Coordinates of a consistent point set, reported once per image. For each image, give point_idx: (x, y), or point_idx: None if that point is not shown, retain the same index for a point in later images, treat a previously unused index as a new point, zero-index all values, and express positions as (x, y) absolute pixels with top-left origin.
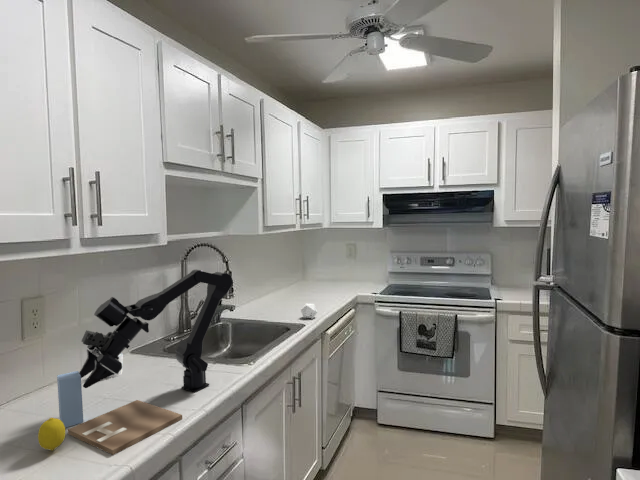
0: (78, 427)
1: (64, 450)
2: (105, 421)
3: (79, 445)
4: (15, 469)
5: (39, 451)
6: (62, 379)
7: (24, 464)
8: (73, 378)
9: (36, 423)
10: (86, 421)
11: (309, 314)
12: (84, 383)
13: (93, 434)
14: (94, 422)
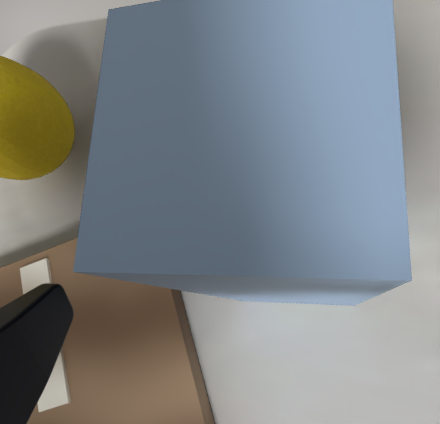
0: None
1: (28, 188)
2: (95, 390)
3: (21, 241)
4: (30, 51)
5: (91, 111)
6: (121, 41)
7: (39, 72)
8: (98, 174)
9: (417, 90)
10: (173, 304)
11: None
12: (27, 299)
13: (7, 300)
14: (127, 337)
